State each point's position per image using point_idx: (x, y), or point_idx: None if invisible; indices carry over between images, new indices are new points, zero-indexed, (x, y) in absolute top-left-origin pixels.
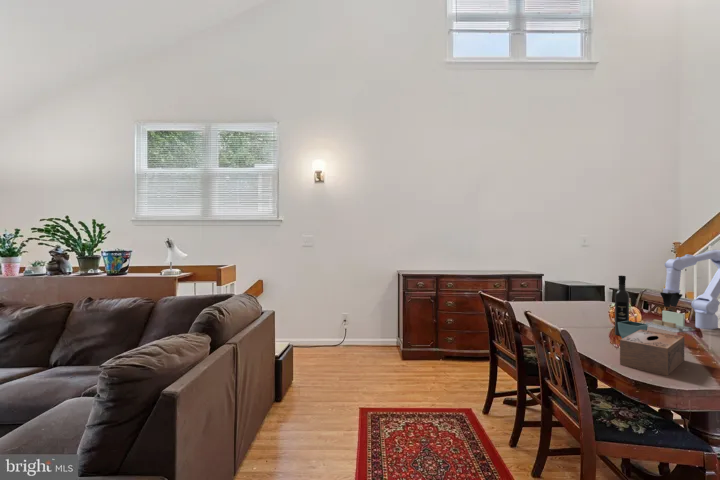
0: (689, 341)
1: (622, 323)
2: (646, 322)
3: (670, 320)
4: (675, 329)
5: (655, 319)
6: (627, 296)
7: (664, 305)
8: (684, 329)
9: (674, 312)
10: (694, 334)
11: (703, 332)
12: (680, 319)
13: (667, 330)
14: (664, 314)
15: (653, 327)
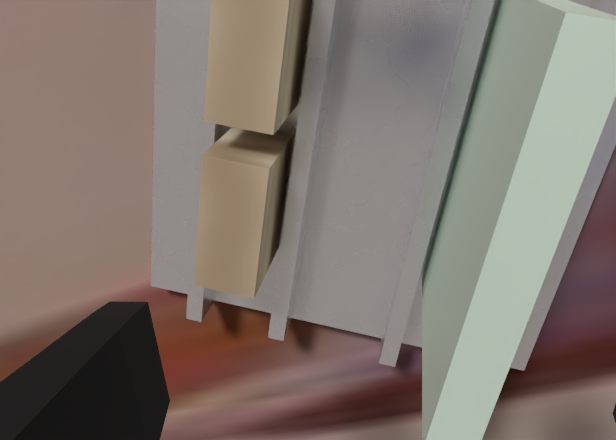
0: None
1: None
2: None
3: (473, 157)
4: (191, 280)
5: None
6: None
7: (92, 323)
8: (388, 305)
9: (509, 304)
10: (357, 375)
11: (578, 404)
12: (433, 334)
13: (161, 198)
14: (524, 61)
15: (162, 7)
